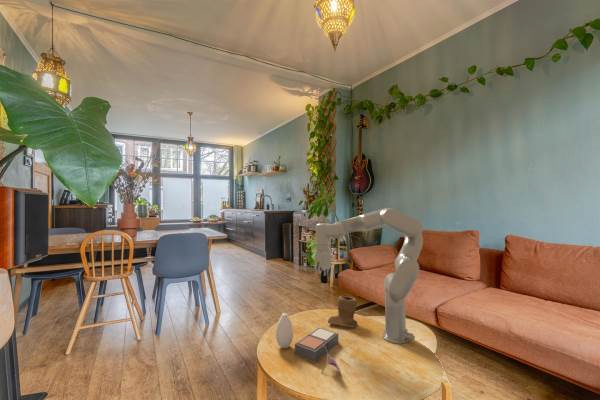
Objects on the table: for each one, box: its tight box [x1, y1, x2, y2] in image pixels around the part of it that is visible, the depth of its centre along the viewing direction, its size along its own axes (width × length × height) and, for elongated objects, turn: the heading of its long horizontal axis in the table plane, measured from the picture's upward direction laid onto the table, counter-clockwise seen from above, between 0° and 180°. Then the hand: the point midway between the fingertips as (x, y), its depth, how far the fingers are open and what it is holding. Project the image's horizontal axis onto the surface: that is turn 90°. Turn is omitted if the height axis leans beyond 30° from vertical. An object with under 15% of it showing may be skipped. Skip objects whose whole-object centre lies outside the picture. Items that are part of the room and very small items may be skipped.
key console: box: [294, 327, 339, 364], centre depth 127 cm, size 11×20×4 cm, turn 144°
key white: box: [311, 328, 336, 341], centre depth 131 cm, size 8×8×2 cm
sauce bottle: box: [275, 308, 294, 349], centre depth 128 cm, size 8×8×18 cm
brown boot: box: [327, 295, 358, 328], centre depth 152 cm, size 15×12×15 cm
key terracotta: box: [299, 336, 324, 350], centre depth 123 cm, size 8×8×2 cm
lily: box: [321, 346, 342, 374], centre depth 110 cm, size 12×12×10 cm
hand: (324, 282), depth 142 cm, fingers closed
